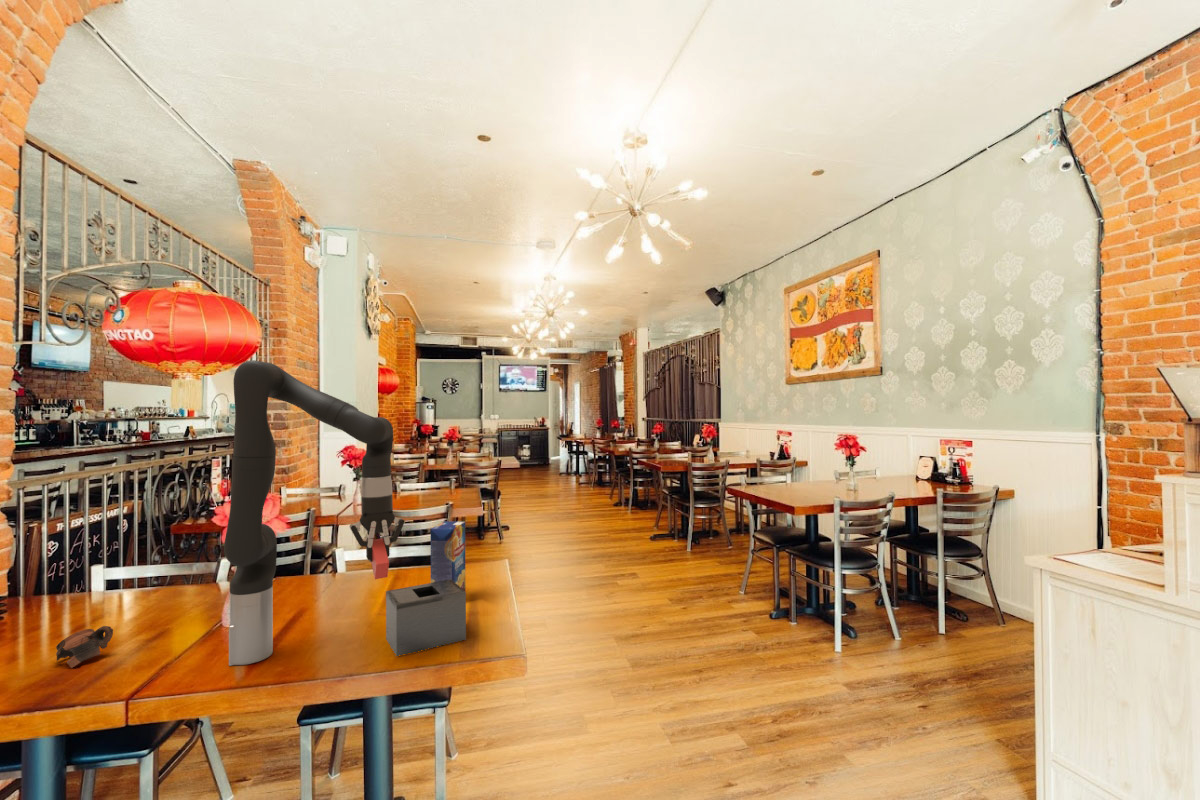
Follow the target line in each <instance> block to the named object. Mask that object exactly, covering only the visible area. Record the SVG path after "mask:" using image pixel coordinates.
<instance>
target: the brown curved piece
mask: <svg viewBox="0 0 1200 800" xmlns="http://www.w3.org/2000/svg"><path fill="white" fill-rule="evenodd" d="M113 634H114V629H113V628H112V627H111V626H109V625H108V626H107V625H103V626H100V627H99V628H97V629H96V630H95V629H92V628H85V629H81V630H79V631H76V632H74V633H72V634H71V635H69V636H67V637H65V638H64V639H62V640H61V641H60V642H58V643H57V645H56V646H55V648H56V649H55V650H56V654H55V655H56V661H57V662H58V661H60V660H61V659H66V658H68V657H69V658H70V659H68V660H67V661H66V664H67V665H68V666H69V667H70V668H71V669H73V667H74V668H75V667H76V666H78V665H80V664H81V663H82V662H84V661H86V660H87V661H88V660H89V659H91V658H93V657H94V658H95V657H97V656H100V655H101V651H100V648H101V649H103V650H104V649H106V648H107V647H108V645H109V644H108V643H109V642H110V641H111V640H112V637H113Z"/></svg>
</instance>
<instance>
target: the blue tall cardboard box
mask: <svg viewBox="0 0 1200 800" xmlns="http://www.w3.org/2000/svg"><path fill="white" fill-rule="evenodd" d="M445 580H453V581H454V582H455V583H456V584H457V585H458V586H459V587H461V588H462V589H463V590H464V591H465V592H466V521H451V520H450V521H442V522H441V523H439V524H437V525H435V526H433V527H431V528H430V583H434V582H439V581H445ZM466 593H467V592H466Z"/></svg>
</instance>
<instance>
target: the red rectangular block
mask: <svg viewBox="0 0 1200 800" xmlns="http://www.w3.org/2000/svg"><path fill="white" fill-rule="evenodd" d="M372 559H373V561H372V562H370V564H371V567H372V573H373V577H374V580H378V579H383V578H384V579H385V578H388V574H389V566H390V560H389V557H388V556H387V552H386V548H385V544H384V541H383V537H382V538H376V539H375V538H374V539H373V545H372Z"/></svg>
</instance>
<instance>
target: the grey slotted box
mask: <svg viewBox="0 0 1200 800" xmlns="http://www.w3.org/2000/svg"><path fill="white" fill-rule="evenodd" d="M465 591H466V590H465ZM465 591H464V590H463V589H462V588H461V587H459V586H458V585H457V584H456V583H455V582H454V581H453V580H445V581H439V582H434V583H431V582H429V583H424V584H418V585H411V586H406V587H403V588H402V587H401V588H396V589H391V590H386V591H385V607H386V608H385V619H386V620H385V627H386V628H385V632H386V633H385V639H386V641H387V643H388V645H389V644H390V645H389V646H390V649H391V650H392V649H393V650H392V652H393V651H394V652H393V653H395V654H396V655H395V654H394V655H395V657H396V656H399V655H403V654H408V653H412V654H414V653H413V652H416V653H419V652H418V651H420V652H422V651H421V650H424V651H426V650H425V649H428V648H432V649H434V648H433V647H436V648H438V647H437V646H440V647H442V646H441V645H444V646H446V645H445V644H448V645H451V644H450V643H452V644H455V643H454V642H457V643H459V642H458V641H461V642H463V641H462V640H465V641H467V601H466V600H467V592H465ZM428 650H429V649H428ZM408 655H409V654H408Z"/></svg>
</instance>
